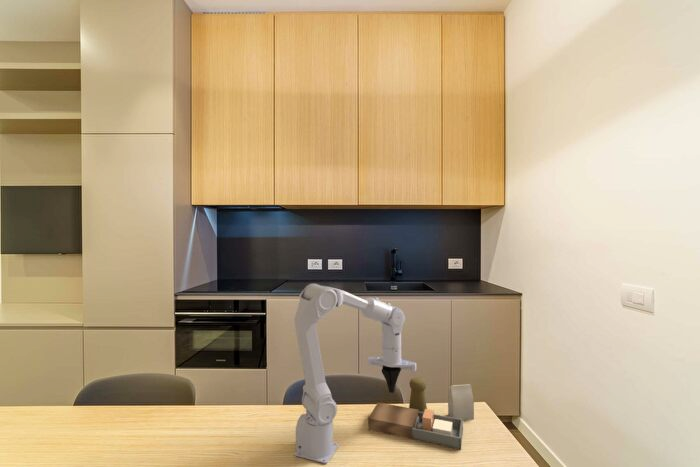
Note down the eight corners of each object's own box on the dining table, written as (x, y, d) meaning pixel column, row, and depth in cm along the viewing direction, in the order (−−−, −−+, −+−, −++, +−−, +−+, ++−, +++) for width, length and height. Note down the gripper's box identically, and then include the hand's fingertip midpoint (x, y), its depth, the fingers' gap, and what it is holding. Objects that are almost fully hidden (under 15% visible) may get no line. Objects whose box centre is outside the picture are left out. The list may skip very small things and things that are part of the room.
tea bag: (473, 419, 106) (473, 387, 106) (453, 421, 105) (453, 388, 105) (468, 413, 109) (467, 381, 109) (448, 414, 108) (447, 383, 108)
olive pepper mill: (427, 419, 106) (427, 383, 106) (408, 417, 107) (407, 382, 107) (427, 409, 112) (427, 375, 112) (408, 407, 113) (408, 374, 113)
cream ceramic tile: (450, 431, 94) (451, 440, 94) (452, 422, 99) (452, 430, 99) (432, 427, 96) (432, 436, 96) (434, 418, 101) (434, 427, 101)
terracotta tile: (422, 417, 97) (431, 418, 96) (425, 408, 102) (433, 410, 101) (422, 434, 97) (431, 436, 96) (425, 425, 102) (433, 427, 101)
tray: (412, 439, 96) (412, 428, 96) (418, 421, 105) (418, 411, 105) (460, 449, 91) (460, 438, 91) (463, 429, 100) (462, 419, 100)
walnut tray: (368, 430, 100) (368, 418, 100) (378, 413, 110) (377, 402, 110) (412, 439, 96) (412, 426, 96) (418, 421, 105) (418, 409, 105)
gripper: (418, 344, 104) (418, 389, 104) (372, 339, 109) (373, 382, 109) (413, 352, 97) (414, 399, 97) (365, 346, 103) (365, 391, 103)
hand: (392, 391), depth 103 cm, fingers closed
